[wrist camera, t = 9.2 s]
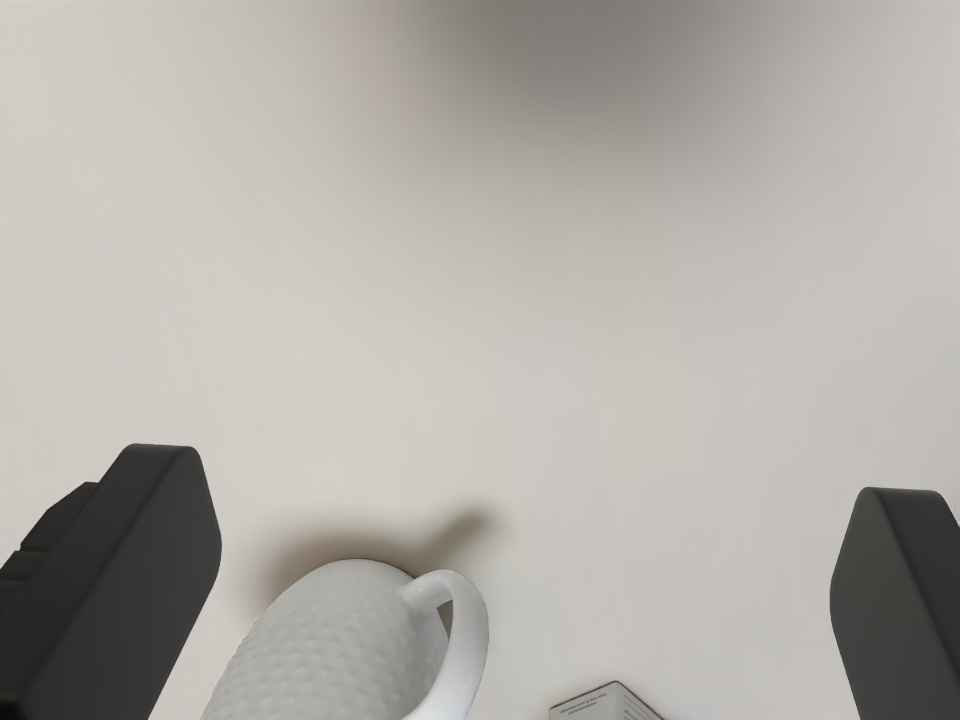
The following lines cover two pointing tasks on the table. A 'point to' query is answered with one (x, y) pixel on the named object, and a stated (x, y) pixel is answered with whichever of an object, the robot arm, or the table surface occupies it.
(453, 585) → the mug
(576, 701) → the ink box
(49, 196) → the table surface
